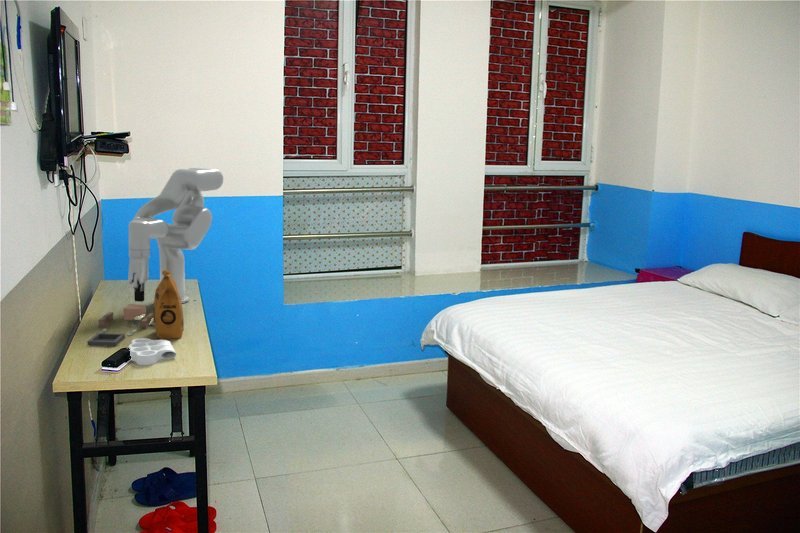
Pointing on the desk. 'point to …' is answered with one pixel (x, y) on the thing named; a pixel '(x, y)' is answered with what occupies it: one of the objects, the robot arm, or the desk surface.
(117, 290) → the desk surface
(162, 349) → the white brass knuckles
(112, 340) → the grey shallow tray
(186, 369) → the desk surface
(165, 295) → the coffee package
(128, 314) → the push block
